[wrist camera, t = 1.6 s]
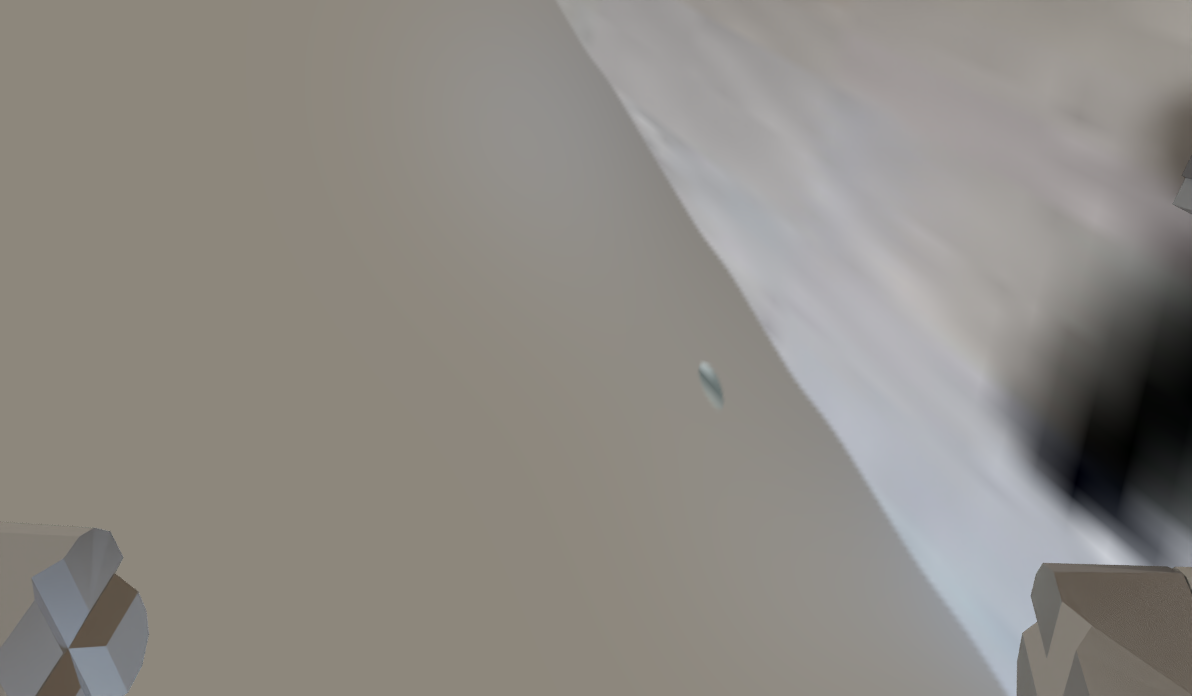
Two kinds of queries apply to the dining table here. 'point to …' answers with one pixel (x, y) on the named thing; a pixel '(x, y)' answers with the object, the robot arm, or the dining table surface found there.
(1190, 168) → the long grey bar
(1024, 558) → the dining table surface
